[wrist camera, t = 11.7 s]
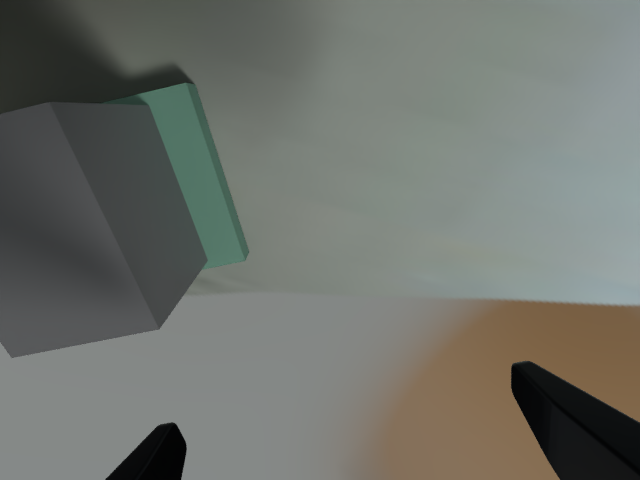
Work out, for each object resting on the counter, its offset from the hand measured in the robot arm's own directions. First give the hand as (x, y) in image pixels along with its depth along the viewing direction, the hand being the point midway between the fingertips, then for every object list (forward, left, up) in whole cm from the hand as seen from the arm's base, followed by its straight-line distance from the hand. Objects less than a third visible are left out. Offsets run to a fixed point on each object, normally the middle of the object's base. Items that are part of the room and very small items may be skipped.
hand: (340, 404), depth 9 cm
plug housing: (+9, -5, -10) cm, 14 cm away
